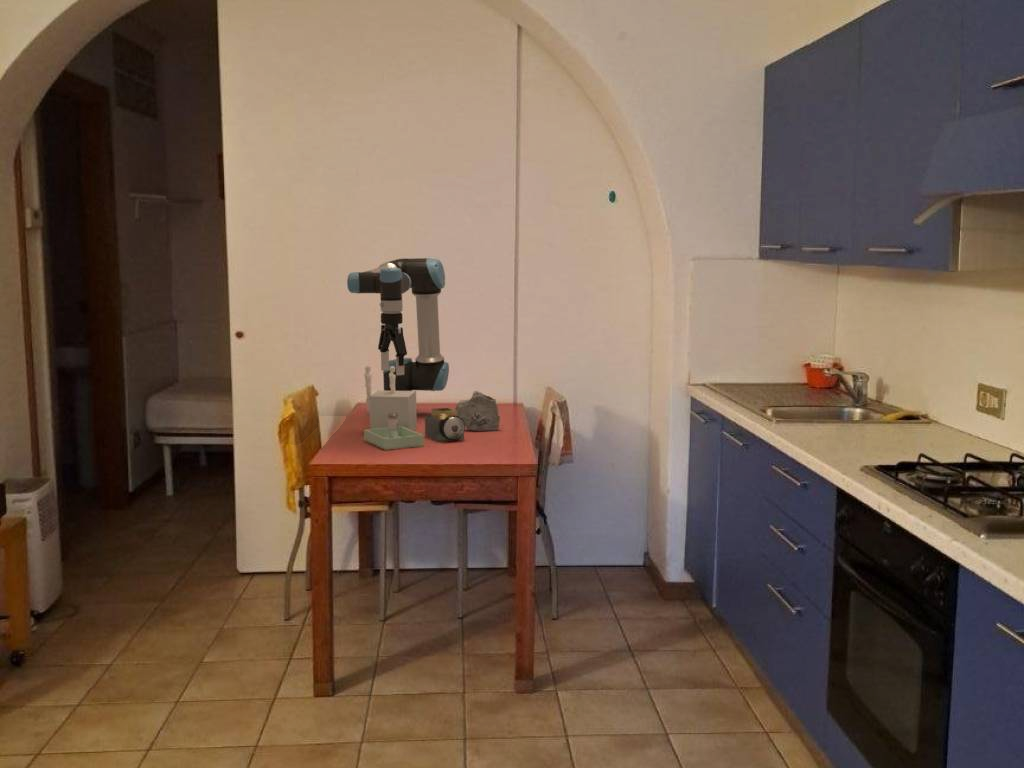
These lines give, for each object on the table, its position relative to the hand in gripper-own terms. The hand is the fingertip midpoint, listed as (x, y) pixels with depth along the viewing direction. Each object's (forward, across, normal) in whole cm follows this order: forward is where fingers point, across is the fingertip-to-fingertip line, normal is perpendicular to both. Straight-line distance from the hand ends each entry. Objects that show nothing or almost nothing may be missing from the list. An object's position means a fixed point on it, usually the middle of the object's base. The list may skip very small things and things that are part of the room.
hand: (392, 372), depth 356 cm
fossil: (+26, -7, +37) cm, 45 cm away
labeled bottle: (+25, 0, 0) cm, 25 cm away
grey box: (+26, -21, +7) cm, 34 cm away
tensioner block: (+25, +2, +20) cm, 32 cm away
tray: (+25, 0, 0) cm, 25 cm away
